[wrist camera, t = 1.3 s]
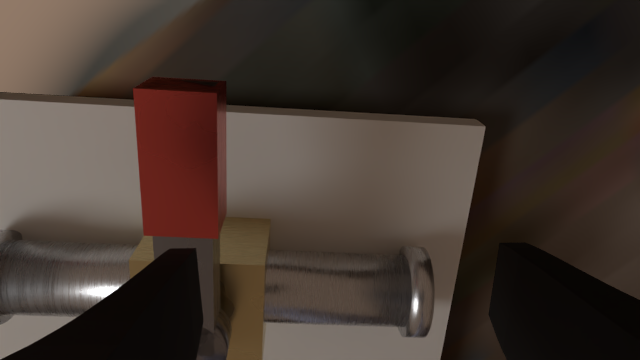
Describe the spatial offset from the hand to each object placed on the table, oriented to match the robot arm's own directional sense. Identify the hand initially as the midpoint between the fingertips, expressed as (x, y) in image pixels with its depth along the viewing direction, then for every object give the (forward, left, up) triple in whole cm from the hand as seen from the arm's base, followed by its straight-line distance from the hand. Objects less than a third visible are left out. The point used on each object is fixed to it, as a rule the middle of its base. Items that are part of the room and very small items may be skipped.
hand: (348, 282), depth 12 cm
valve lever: (+5, +1, -5) cm, 7 cm away
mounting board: (+5, +5, -10) cm, 13 cm away
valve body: (+5, +5, -10) cm, 13 cm away
